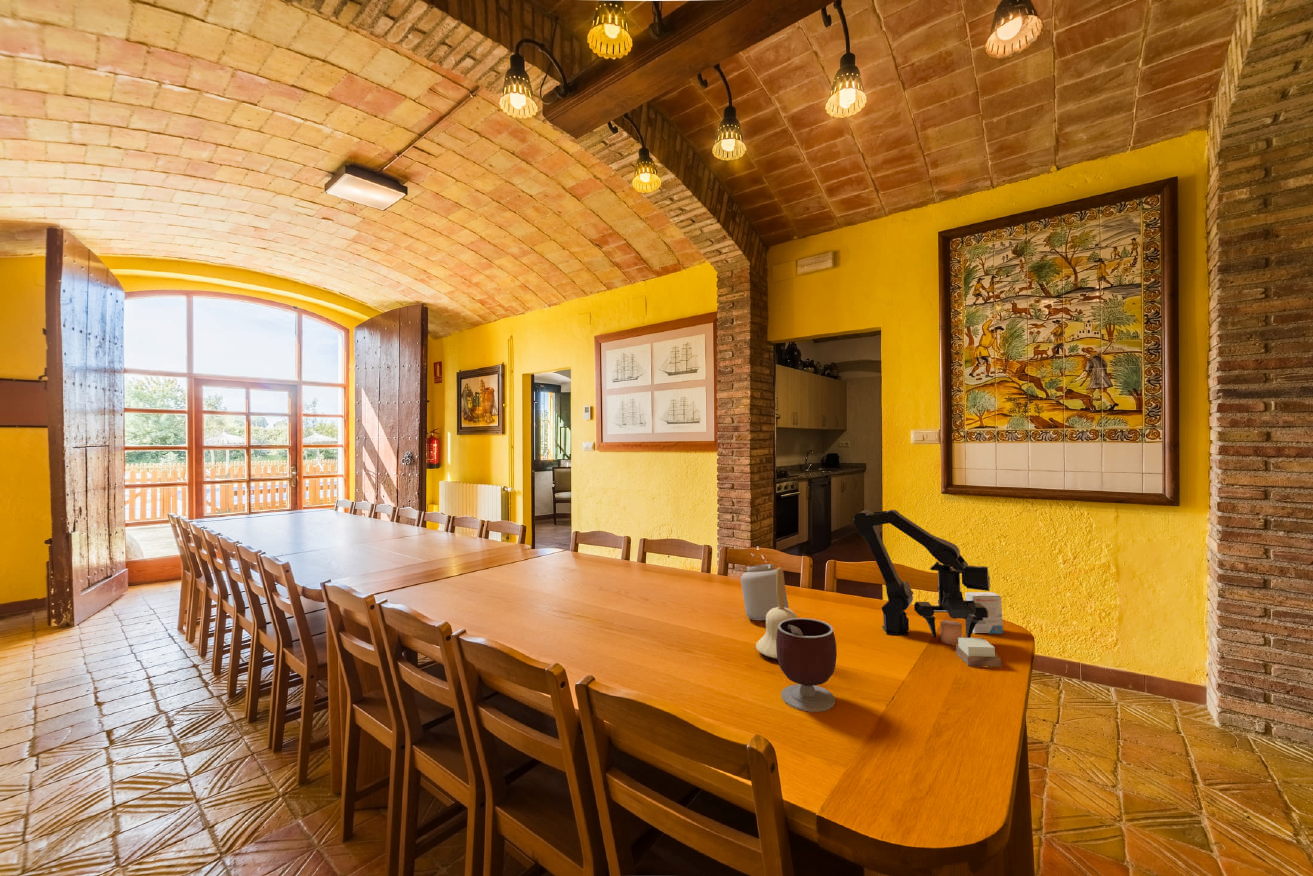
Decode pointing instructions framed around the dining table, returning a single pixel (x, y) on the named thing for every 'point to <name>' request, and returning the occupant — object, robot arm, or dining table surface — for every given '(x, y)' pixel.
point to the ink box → (994, 612)
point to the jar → (760, 591)
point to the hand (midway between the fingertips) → (951, 638)
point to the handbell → (775, 619)
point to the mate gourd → (806, 662)
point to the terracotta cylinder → (950, 631)
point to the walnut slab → (978, 659)
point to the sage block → (976, 647)
